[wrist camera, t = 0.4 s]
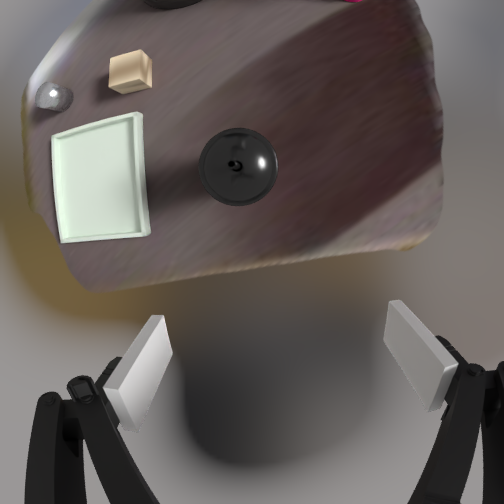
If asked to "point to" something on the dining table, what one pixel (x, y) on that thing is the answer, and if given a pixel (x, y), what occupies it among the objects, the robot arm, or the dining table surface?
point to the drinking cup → (238, 167)
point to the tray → (101, 180)
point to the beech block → (130, 72)
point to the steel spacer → (53, 97)
